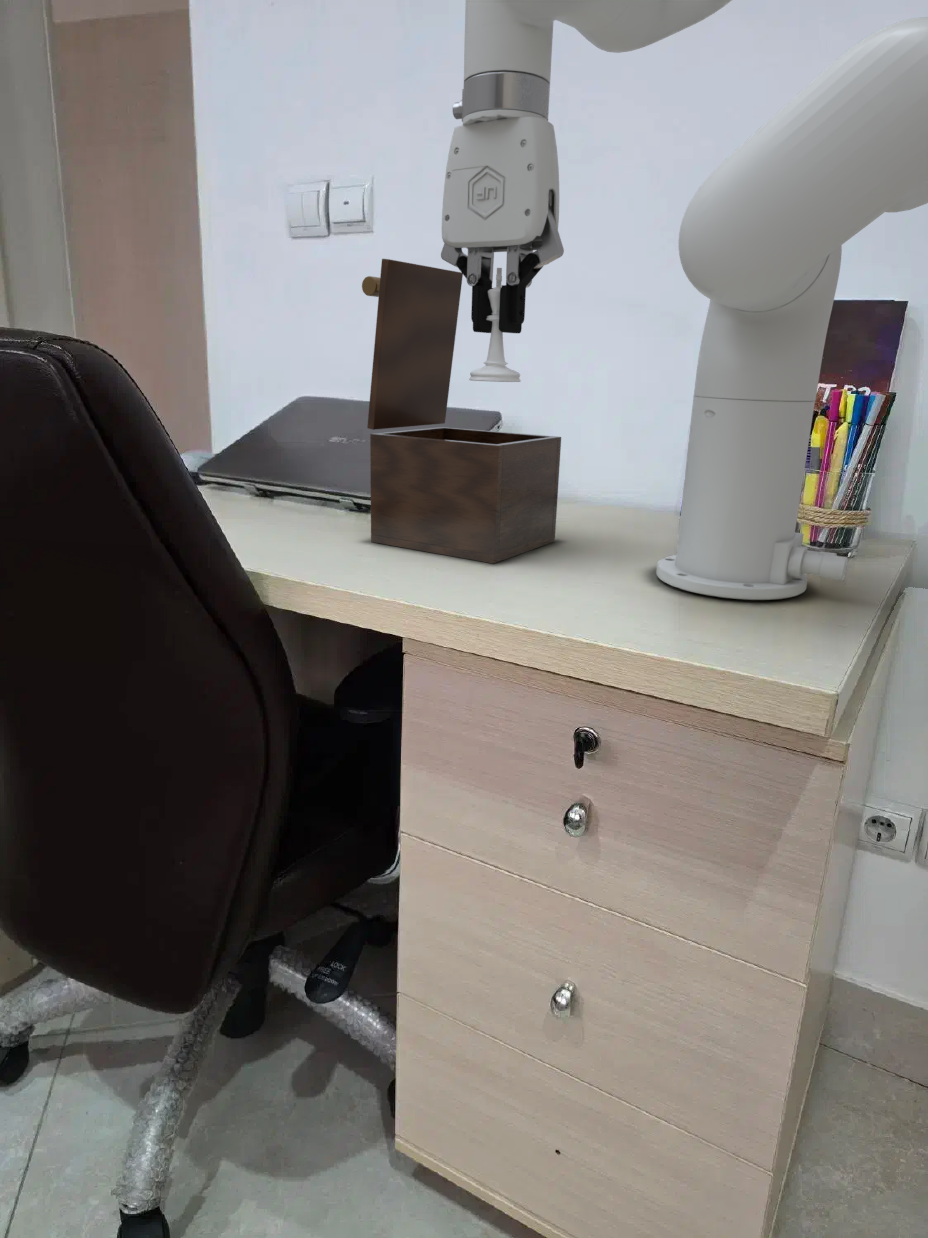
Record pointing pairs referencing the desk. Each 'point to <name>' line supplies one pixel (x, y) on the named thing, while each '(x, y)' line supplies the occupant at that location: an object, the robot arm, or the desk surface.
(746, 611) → the desk surface
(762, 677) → the desk surface
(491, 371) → the chess piece
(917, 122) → the robot arm
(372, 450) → the box
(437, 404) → the lid
